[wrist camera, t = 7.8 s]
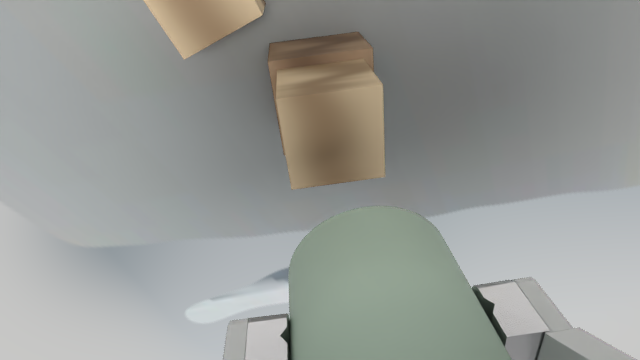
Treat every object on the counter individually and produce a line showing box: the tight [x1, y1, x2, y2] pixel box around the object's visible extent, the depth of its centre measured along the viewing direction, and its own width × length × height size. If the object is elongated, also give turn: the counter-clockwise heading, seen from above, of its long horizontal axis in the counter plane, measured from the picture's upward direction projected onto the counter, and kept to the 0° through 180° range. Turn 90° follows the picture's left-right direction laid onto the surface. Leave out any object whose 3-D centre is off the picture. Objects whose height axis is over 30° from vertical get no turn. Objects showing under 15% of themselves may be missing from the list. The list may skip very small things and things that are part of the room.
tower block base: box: [268, 32, 374, 155], centre depth 26 cm, size 6×6×5 cm
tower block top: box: [276, 58, 385, 190], centre depth 21 cm, size 5×5×5 cm
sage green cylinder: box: [289, 206, 512, 360], centre depth 10 cm, size 5×5×5 cm
